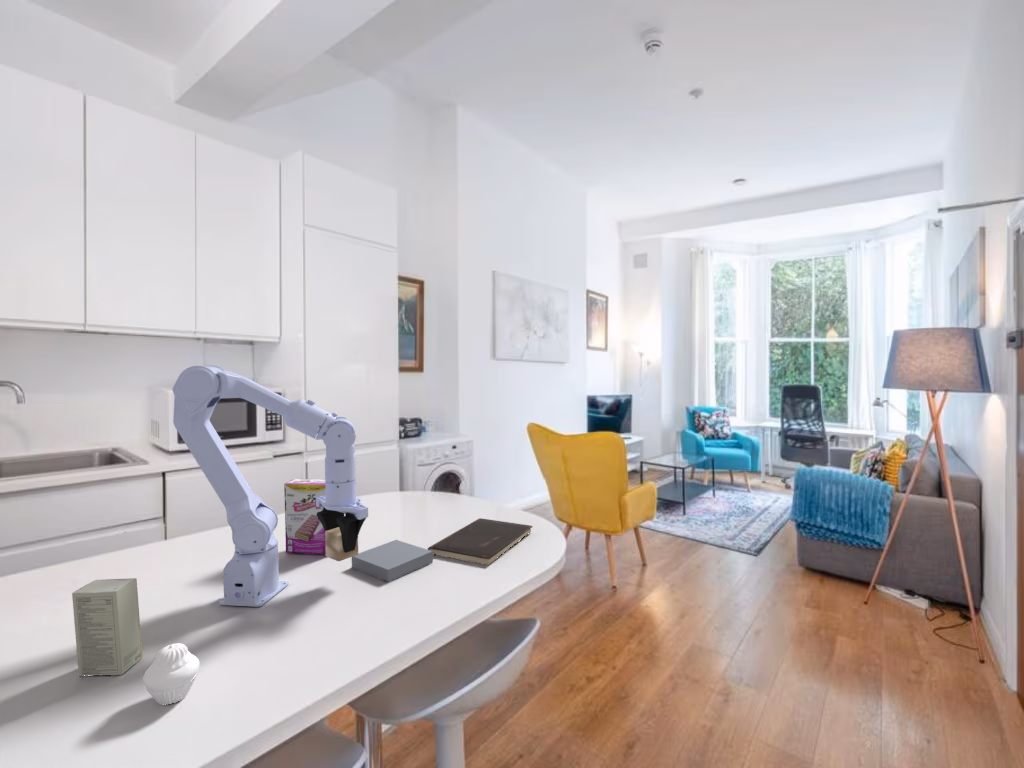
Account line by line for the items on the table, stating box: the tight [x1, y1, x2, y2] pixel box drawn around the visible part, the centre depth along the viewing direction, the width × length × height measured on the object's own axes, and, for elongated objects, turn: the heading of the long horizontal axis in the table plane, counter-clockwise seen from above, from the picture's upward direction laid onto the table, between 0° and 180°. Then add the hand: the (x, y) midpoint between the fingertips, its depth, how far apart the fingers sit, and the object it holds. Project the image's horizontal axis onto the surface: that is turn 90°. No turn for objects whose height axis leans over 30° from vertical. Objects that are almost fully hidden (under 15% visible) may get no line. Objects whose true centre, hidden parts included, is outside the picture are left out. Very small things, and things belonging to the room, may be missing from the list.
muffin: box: [142, 642, 201, 706], centre depth 65 cm, size 6×6×7 cm
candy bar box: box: [283, 478, 326, 556], centre depth 115 cm, size 11×5×16 cm, turn 84°
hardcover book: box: [427, 517, 533, 566], centre depth 121 cm, size 16×23×2 cm
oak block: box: [325, 527, 359, 562], centre depth 99 cm, size 4×4×5 cm
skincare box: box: [71, 577, 143, 677], centre depth 72 cm, size 6×4×12 cm
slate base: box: [351, 539, 434, 583], centre depth 108 cm, size 12×12×2 cm
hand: (341, 548), depth 99 cm, fingers closed on oak block, 4 cm apart
